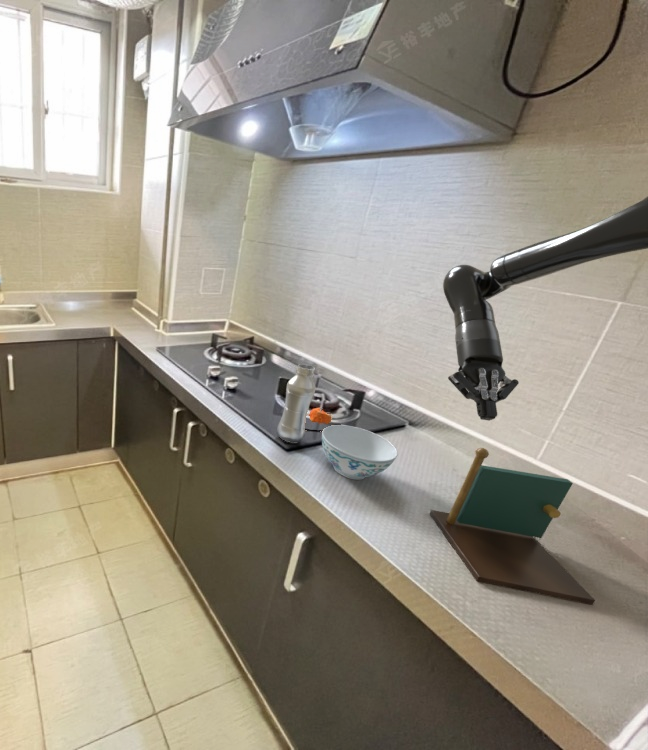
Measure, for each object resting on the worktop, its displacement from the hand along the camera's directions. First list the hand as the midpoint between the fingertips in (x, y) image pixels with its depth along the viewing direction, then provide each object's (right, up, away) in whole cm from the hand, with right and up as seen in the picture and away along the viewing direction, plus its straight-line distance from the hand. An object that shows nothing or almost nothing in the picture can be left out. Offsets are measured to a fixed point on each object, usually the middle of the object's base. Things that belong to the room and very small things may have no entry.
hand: (488, 419), depth 80 cm
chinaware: (-25, -13, +8) cm, 29 cm away
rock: (-22, -4, +30) cm, 38 cm away
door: (-6, -19, -10) cm, 22 cm away
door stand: (-9, -22, -13) cm, 27 cm away
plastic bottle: (-34, -8, +19) cm, 40 cm away
